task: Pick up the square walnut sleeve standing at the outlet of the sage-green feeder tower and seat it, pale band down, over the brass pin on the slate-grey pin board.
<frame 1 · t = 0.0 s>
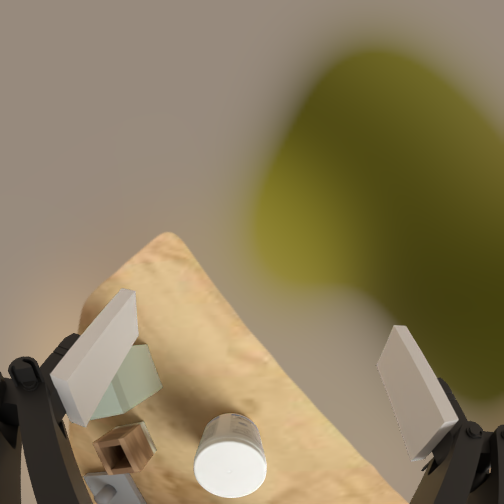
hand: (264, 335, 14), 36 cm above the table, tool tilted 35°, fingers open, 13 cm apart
pin board: (124, 503, 38), on the table
sleeve: (136, 438, 43), on the table
feeder tower: (134, 371, 46), on the table
supplement tub: (232, 435, 44), on the table
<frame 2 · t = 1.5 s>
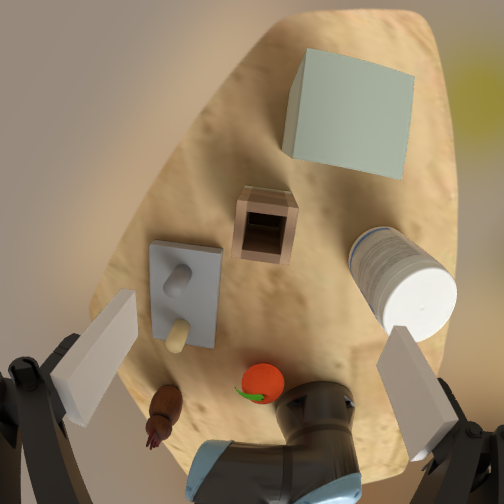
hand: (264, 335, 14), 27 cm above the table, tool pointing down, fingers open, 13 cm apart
pin board: (185, 294, 44), on the table
sleeve: (265, 210, 39), on the table
wooden figurine: (171, 391, 53), on the table
clementine: (260, 368, 49), on the table
feeder tower: (316, 125, 35), on the table
supplement tub: (378, 255, 41), on the table
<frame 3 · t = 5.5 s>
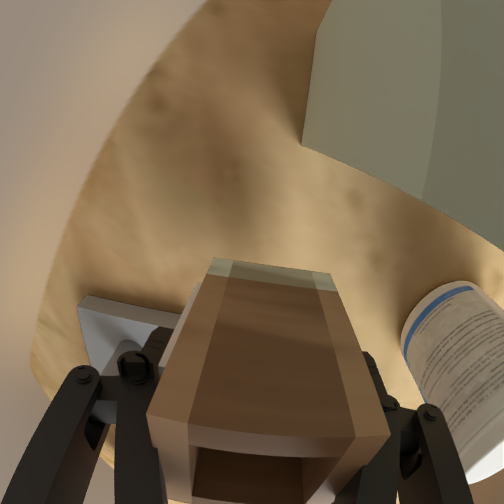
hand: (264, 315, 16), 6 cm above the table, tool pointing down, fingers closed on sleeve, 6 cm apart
pin board: (144, 371, 27), on the table
sleeve: (264, 315, 16), point 6 cm above the table, touching gripper
feeder tower: (368, 99, 17), on the table
supplement tub: (442, 321, 23), on the table
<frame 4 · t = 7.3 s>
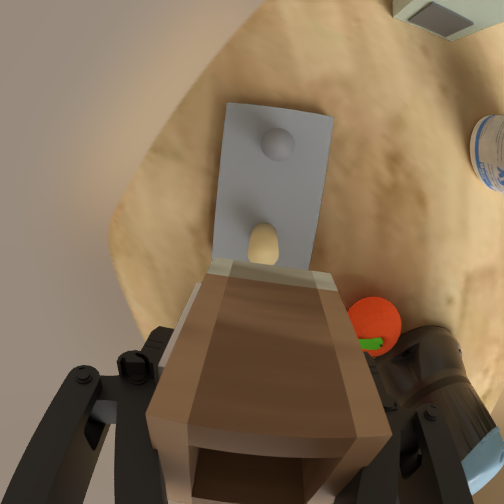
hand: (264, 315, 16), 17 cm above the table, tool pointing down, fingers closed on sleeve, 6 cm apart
pin board: (270, 187, 30), on the table
sleeve: (264, 315, 16), point 17 cm above the table, touching gripper
clementine: (360, 310, 35), on the table
feeder tower: (422, 3, 21), on the table
supplement tub: (492, 152, 26), on the table
when the fingers open (3 cm above the table, at t = 9.6 s): sleeve drops 1 cm, resting on pin board.
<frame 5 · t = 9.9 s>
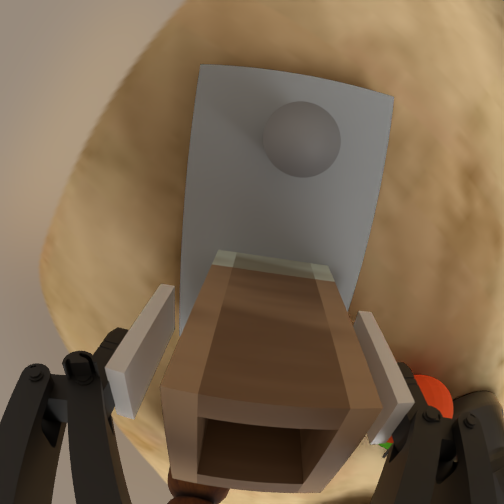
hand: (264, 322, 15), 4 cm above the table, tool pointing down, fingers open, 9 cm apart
pin board: (277, 217, 17), on the table
sleeve: (265, 305, 17), point 2 cm above the table, touching pin board
wooden figurine: (207, 438, 26), on the table
clementine: (396, 386, 22), on the table
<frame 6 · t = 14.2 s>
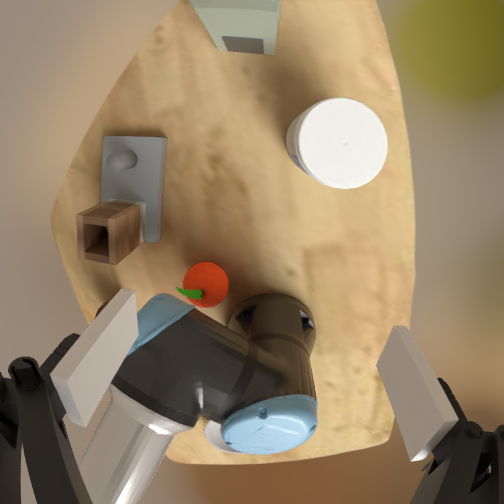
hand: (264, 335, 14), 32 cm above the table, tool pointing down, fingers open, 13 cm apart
pin board: (133, 186, 44), on the table
sleeve: (127, 219, 44), point 2 cm above the table, touching pin board
clementine: (207, 274, 49), on the table
feeder tower: (250, 29, 35), on the table
supplement tub: (319, 142, 40), on the table
dish: (238, 418, 62), on the table
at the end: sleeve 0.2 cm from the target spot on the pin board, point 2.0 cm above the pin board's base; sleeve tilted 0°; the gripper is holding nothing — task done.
